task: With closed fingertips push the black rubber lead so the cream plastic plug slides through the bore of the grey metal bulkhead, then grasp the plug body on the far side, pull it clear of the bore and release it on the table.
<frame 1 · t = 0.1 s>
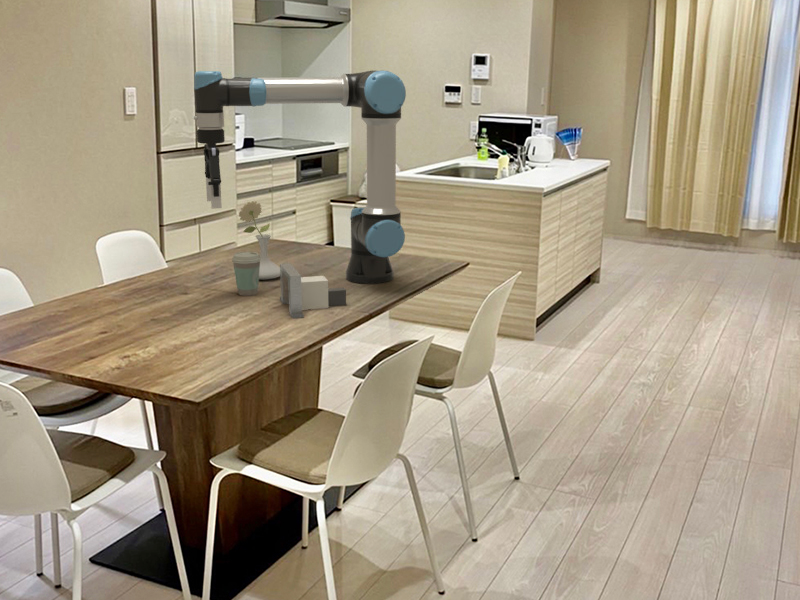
hand: (214, 204, 251), 28 cm above the table, fingers open, 13 cm apart
flower in vase: (262, 278, 285), on the table
coffee cup: (248, 293, 266), on the table
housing: (291, 307, 250), on the table
plug: (309, 306, 252), on the table
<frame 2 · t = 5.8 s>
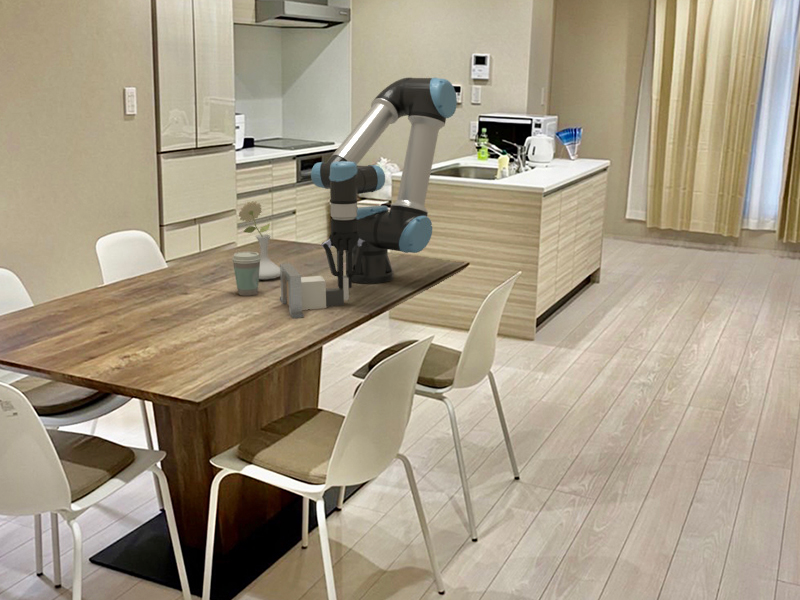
hand: (345, 299, 254), 1 cm above the table, fingers closed
nothing on the table moved.
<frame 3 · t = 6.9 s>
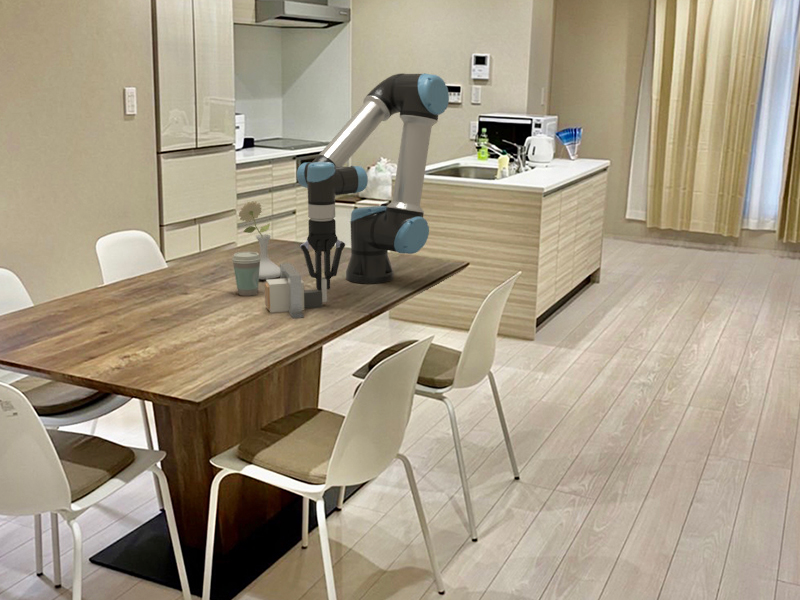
hand: (323, 300, 252), 1 cm above the table, fingers closed
plug: (285, 308, 250), on the table, touching gripper
everything else where it was.
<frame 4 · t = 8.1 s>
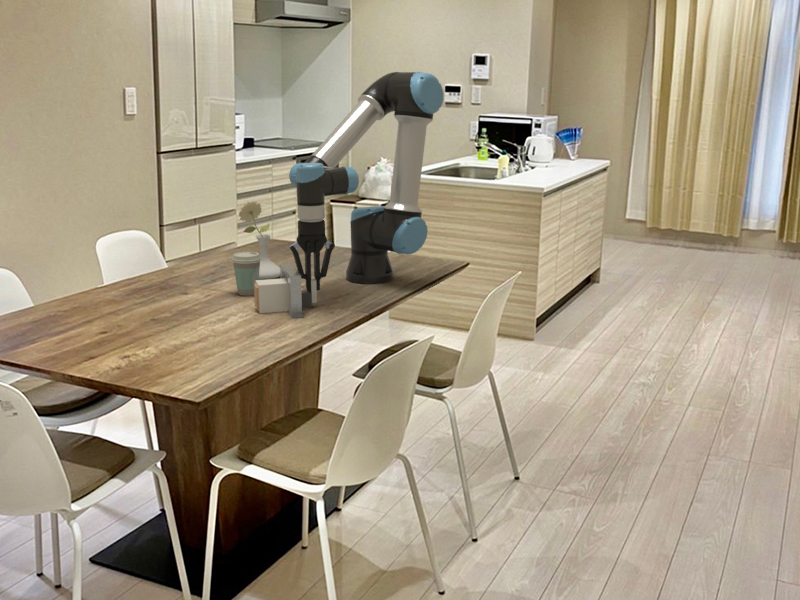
hand: (313, 301, 252), 1 cm above the table, fingers closed
plug: (275, 309, 249), on the table, touching gripper
everything else where it was.
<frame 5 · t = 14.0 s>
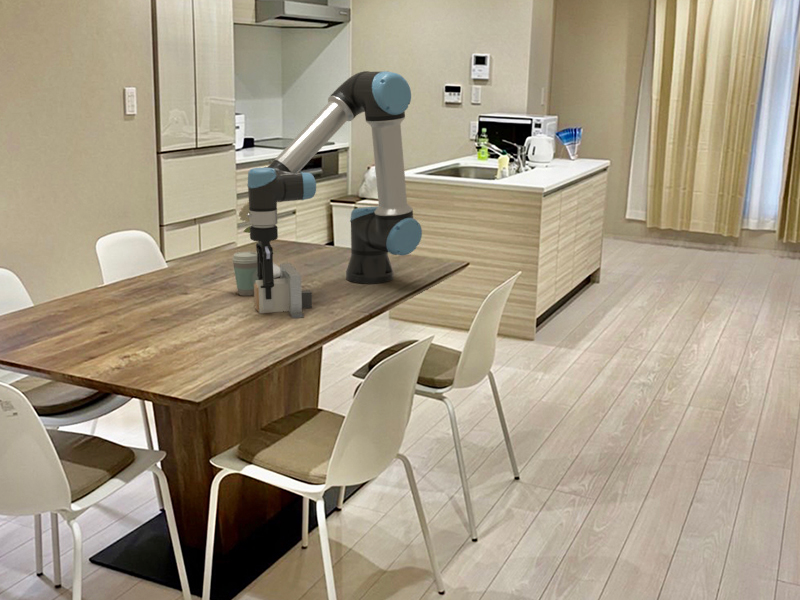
hand: (266, 306, 248), 1 cm above the table, fingers closed on plug, 6 cm apart
plug: (275, 309, 249), on the table, touching gripper
everything else where it was.
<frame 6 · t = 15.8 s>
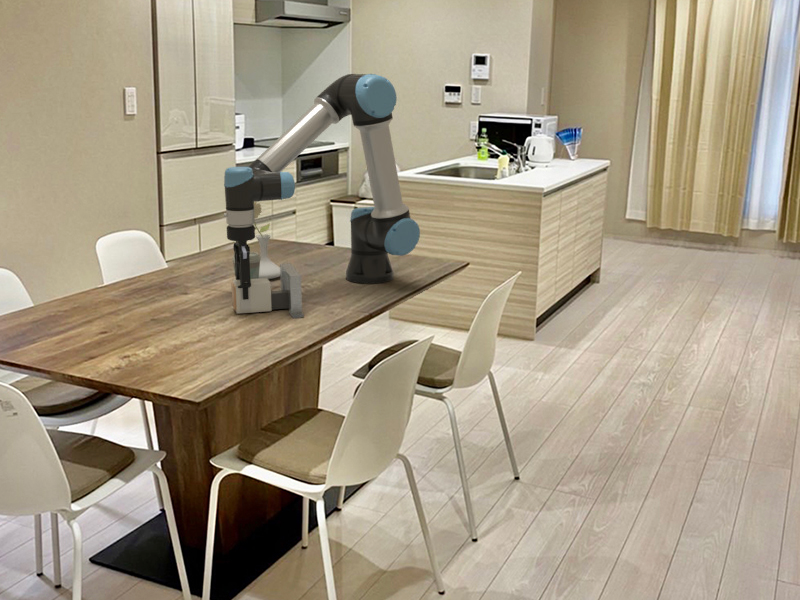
hand: (244, 306, 246), 1 cm above the table, fingers closed on plug, 6 cm apart
plug: (252, 309, 247), on the table, touching gripper
everything else where it was.
when the fingers open (1 cm above the table, at t = 17.6 s): plug stays where it is, on the table.
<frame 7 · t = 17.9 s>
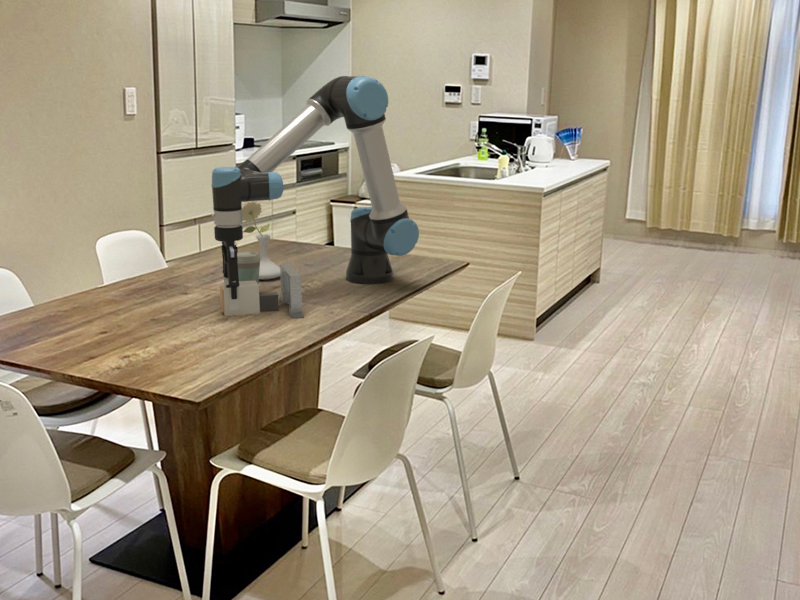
hand: (232, 305, 245), 2 cm above the table, fingers open, 9 cm apart
plug: (241, 311, 246), on the table
everything else where it was.
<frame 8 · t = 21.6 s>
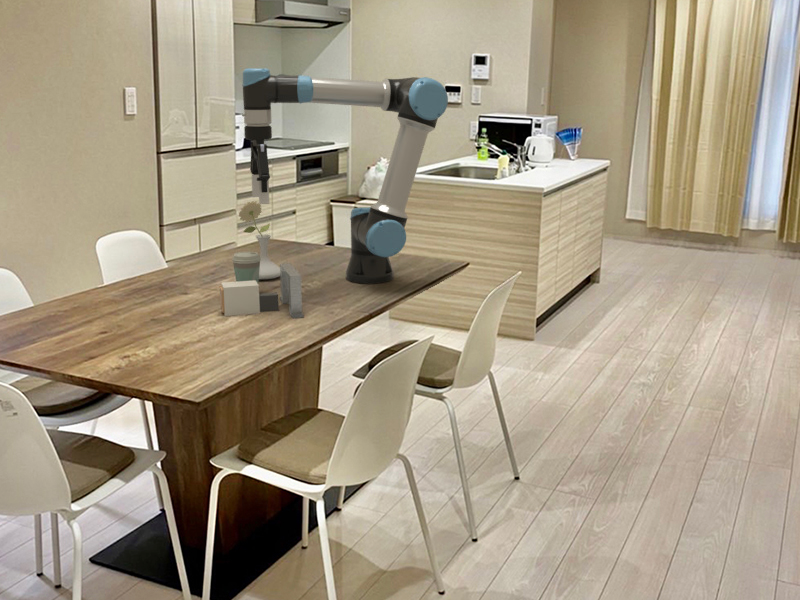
hand: (260, 200, 254), 29 cm above the table, fingers open, 13 cm apart
nothing on the table moved.
at the end: plug inside the target area on the table beside the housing (4.7 cm from its centre), on the table; the gripper is holding nothing; plug tilted 0° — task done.
